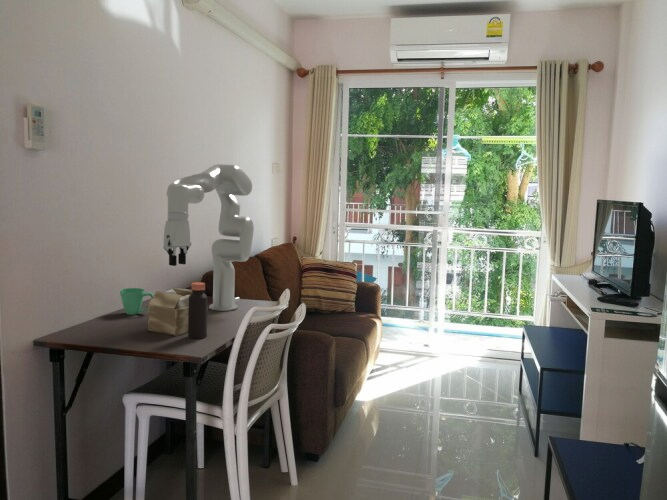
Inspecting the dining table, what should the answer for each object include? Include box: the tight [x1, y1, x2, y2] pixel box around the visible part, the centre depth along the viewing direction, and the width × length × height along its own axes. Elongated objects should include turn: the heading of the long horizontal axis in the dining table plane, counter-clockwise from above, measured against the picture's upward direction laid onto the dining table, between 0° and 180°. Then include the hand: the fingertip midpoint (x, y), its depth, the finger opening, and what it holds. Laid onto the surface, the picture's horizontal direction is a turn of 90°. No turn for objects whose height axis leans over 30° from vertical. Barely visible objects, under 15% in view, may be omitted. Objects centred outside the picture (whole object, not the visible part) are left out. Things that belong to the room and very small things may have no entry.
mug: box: [119, 287, 155, 316], centre depth 236 cm, size 15×10×10 cm
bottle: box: [187, 281, 208, 340], centre depth 205 cm, size 7×7×20 cm
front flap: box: [148, 290, 182, 309], centre depth 208 cm, size 6×12×1 cm
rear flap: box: [171, 287, 192, 296], centre depth 219 cm, size 6×12×1 cm
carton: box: [147, 294, 191, 337], centre depth 214 cm, size 16×15×13 cm
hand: (177, 264), depth 212 cm, fingers open, 4 cm apart
